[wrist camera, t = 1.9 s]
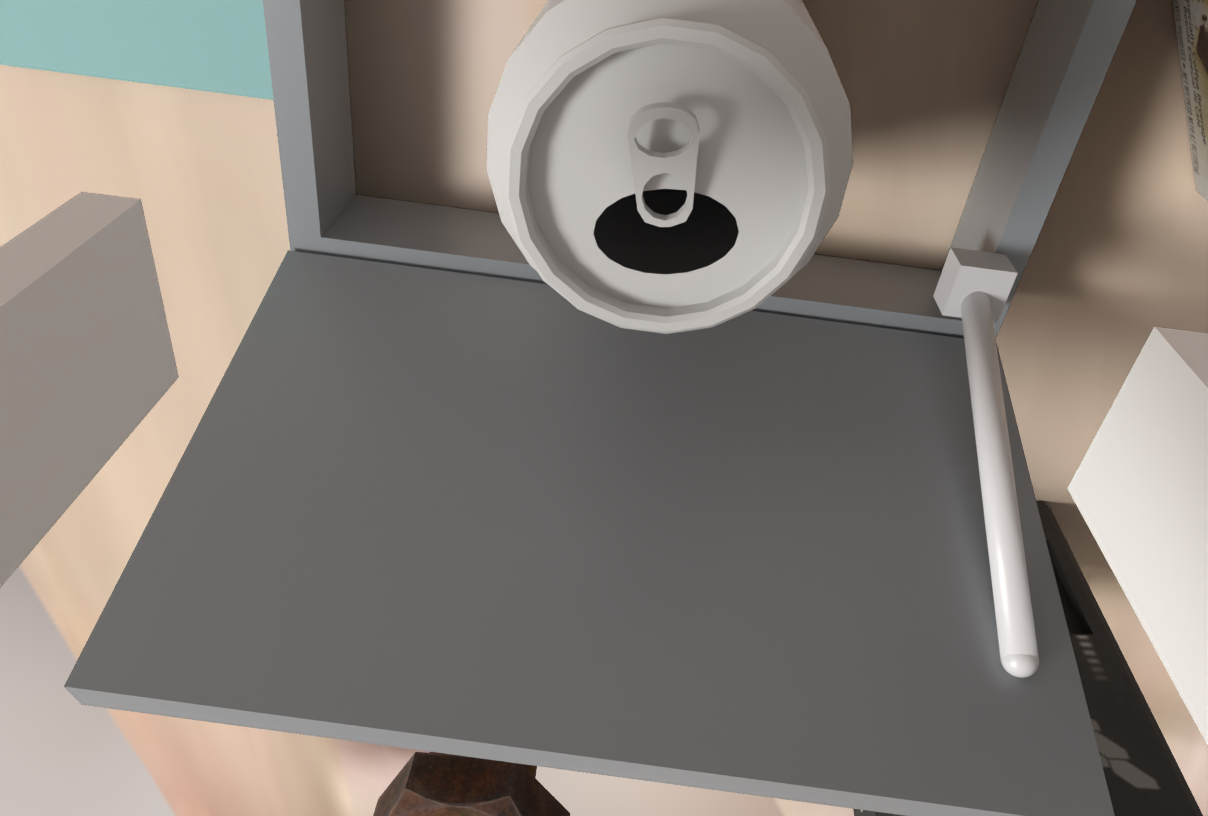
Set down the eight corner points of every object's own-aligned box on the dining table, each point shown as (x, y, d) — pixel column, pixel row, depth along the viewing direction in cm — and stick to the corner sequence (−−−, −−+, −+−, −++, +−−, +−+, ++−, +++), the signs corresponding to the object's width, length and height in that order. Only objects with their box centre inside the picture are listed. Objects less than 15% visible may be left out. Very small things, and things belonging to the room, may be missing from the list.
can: (560, 171, 29) (493, 366, 19) (539, -89, 25) (439, -10, 15) (792, 166, 28) (845, 365, 19) (812, -103, 24) (893, -29, 14)
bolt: (515, 434, 35) (421, 776, 23) (623, 488, 37) (589, 841, 24) (456, 524, 38) (346, 868, 26) (557, 571, 40) (497, 922, 27)
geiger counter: (788, 573, 39) (833, 939, 26) (798, 493, 36) (852, 858, 24) (1037, 582, 38) (1203, 965, 25) (1065, 501, 35) (1266, 884, 23)
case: (1146, -187, 22) (1908, -144, 8) (924, 397, 33) (1097, 852, 19) (287, -295, 23) (-379, -432, 9) (337, 320, 33) (75, 714, 19)
